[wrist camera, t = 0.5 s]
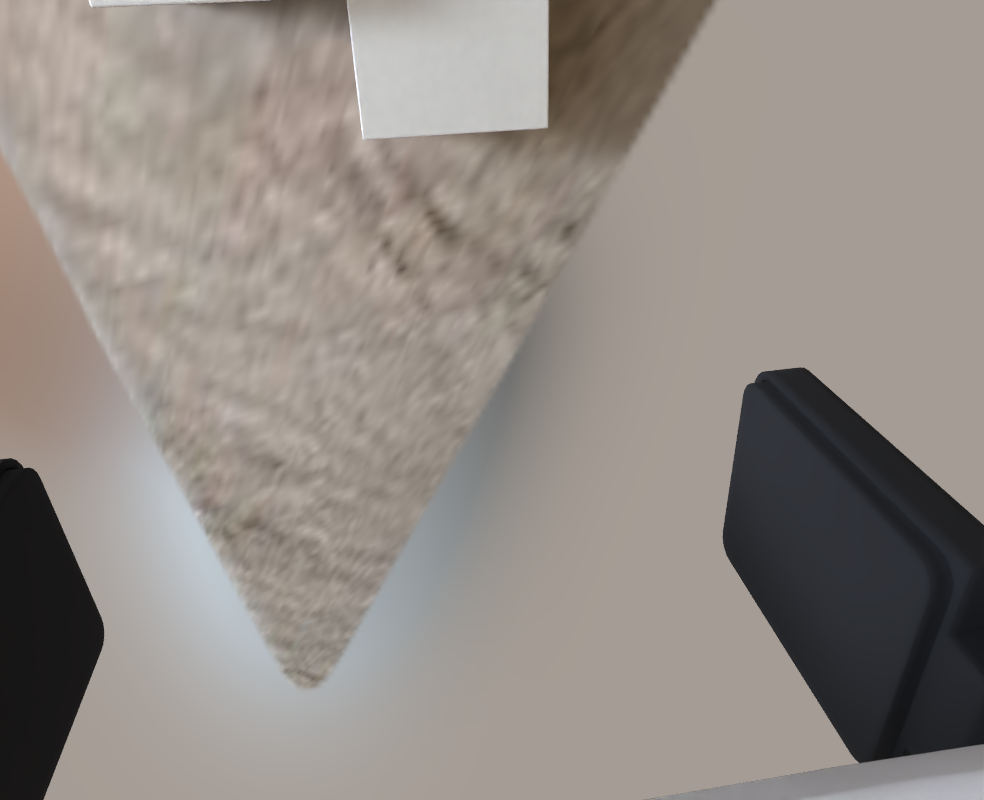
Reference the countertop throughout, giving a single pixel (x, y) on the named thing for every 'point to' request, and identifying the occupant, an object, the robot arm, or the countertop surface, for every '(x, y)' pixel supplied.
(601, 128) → the countertop surface
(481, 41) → the white books
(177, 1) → the white book
